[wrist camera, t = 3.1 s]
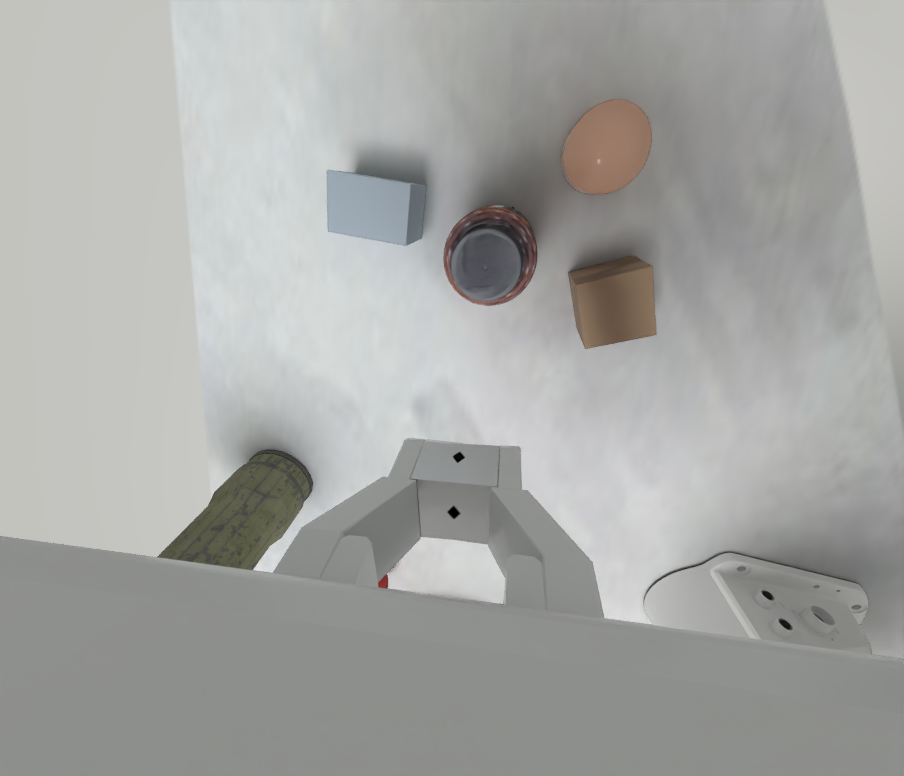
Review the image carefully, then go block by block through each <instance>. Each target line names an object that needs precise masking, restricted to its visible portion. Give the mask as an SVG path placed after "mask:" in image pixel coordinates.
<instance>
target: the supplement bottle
mask: <svg viewBox="0 0 904 776" xmlns="http://www.w3.org/2000/svg"><path fill="white" fill-rule="evenodd" d="M536 263H537V245H536V241H535V237H534V234H533V231H532V228H531V226H530V224H529V223H528V221H527V220H526V218H525V217H524V216H523V215H522V214H521V213H520V212H519V211H517V210H515V209H514V208H513V207H512V208H511V207H507V206H502V205H494V206H488V207H485V208H481V209H478V210H476V211H473V212H471V213H469V214H468V215H466V216H465V217H464V218H462V219H461V220H460V221H459V222H458V223H457V224H456V225H455V227H454V228H453V229H452V231H451V233H450V234H449V236H448V238H447V241H446V244H445V249H444V268H445V272H446V275H447V277H448V280H449V282H450V284H451V285H452V286H453V288H454V289H455V290H456V291H457V292H458V293H459V294H460V295H461V296H462V297H464V298H465V299H467V300H469V301H471V302H473V303H476V304H479V305H486V306H491V305H499V304H503V303H505V302H508V301H510V300H512V299H513V298H515V297H516V296H517V295H519V294H520V293H521V292H522V291H523V290H524V289H525V288H526V287H527V285H528V284H529V282H530V281H531V278H532V276H533V274H534V271H535V268H536Z"/></svg>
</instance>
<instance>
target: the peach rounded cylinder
mask: <svg viewBox="0 0 904 776" xmlns="http://www.w3.org/2000/svg"><path fill="white" fill-rule="evenodd" d="M651 141H652V134H651V127H650V123H649V121H648V118H647V116H646V115H645V113H644V112H643V111H642V110H641V108H639V107H638V106H637V105H635V104H634V103H632V102H629V101H626V100H609V101H606V102H603V103H600V104H598V105H596V106H595V107H593V108H592V109H590V110H589V111H588V112H587V113H586V114H585V115H584V116H583V117H582V118H581V119H580V120H579V122H578V123H577V124H576V125H575V127H574V128H573V129H572V130H571V132H570V133H569V135H568V136H567V138H566V140H565V143H564V145H563V149H562V154H561V167H562V172H563V175H564V177H565V179H566V181H567V182H568V183H569V184H570V185H571V187H573V188H574V189H575V190H577V191H579V192H582V193H587V194H607V193H611V192H614V191H617V190H619V189H621V188H623V187H624V186H626V185H627V184H629V183H630V182H631V181H632V180H633V179H634V178H635V177H636V176H637V175H638V174H639V172H640V171H641V170H642V168H643V166H644V165H645V163H646V160H647V158H648V155H649V152H650V148H651Z"/></svg>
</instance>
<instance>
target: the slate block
mask: <svg viewBox="0 0 904 776" xmlns="http://www.w3.org/2000/svg"><path fill="white" fill-rule="evenodd" d="M426 187H427V185H422V184H416V183H411V182H405V181H399V180H393V179H387V178H381V177H375V176H369V175H363V174H357V173H350V172H341V171H333V170H327V218H328V232H333V233H338V234H344V235H349V236H355V237H360V238H366V239H371V240H376V241H382V242H387V243H393V244H398V245H404V246H406V245H409V244H411V243H413V242H415V241H417V240H419V239H421V238H422V227H423V217H424V207H425V197H426Z"/></svg>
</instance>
